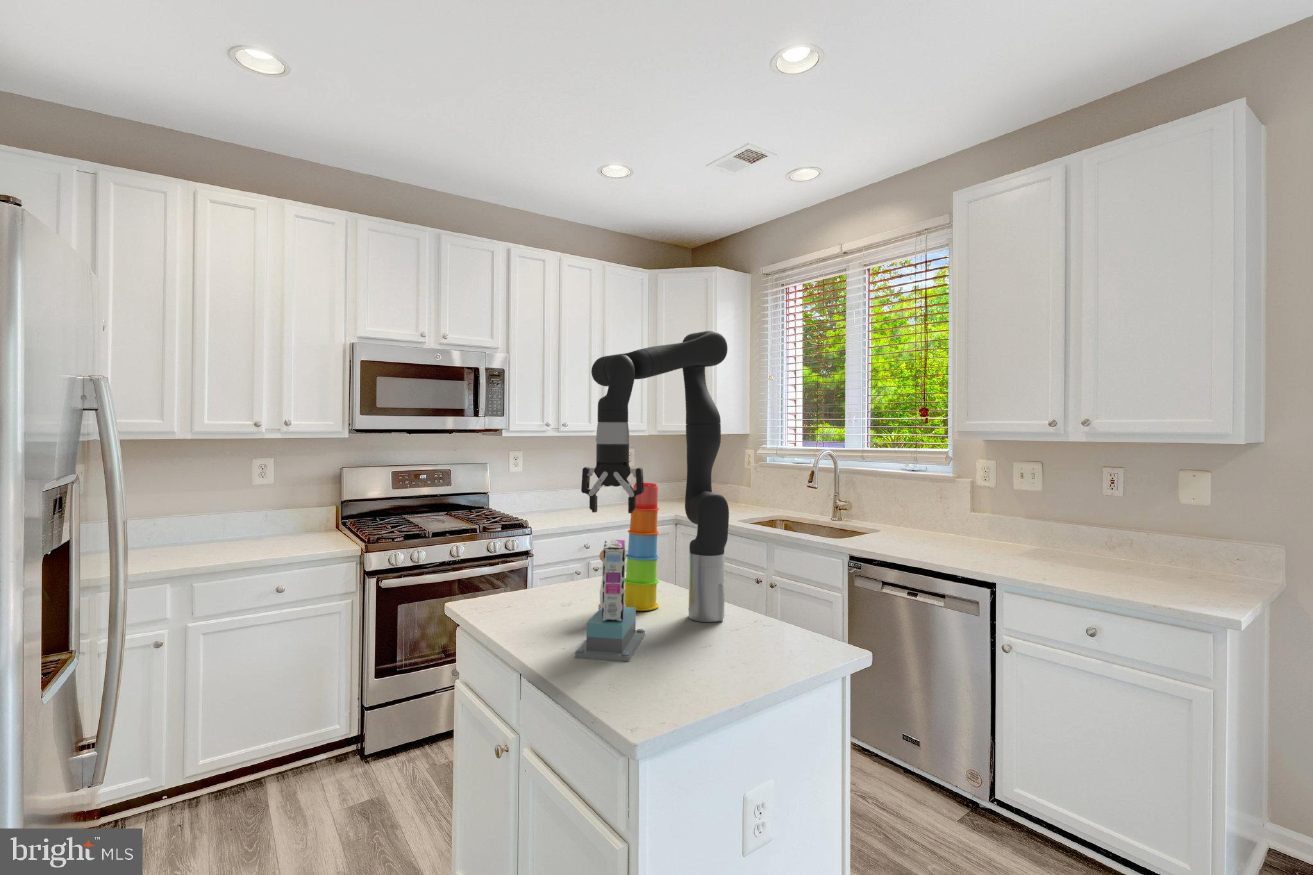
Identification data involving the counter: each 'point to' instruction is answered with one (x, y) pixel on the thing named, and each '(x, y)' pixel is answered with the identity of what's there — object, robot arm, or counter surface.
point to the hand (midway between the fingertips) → (612, 512)
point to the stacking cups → (643, 551)
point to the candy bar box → (613, 581)
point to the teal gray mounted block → (611, 638)
